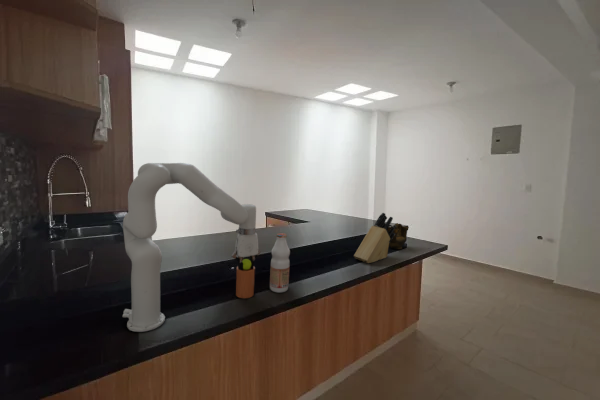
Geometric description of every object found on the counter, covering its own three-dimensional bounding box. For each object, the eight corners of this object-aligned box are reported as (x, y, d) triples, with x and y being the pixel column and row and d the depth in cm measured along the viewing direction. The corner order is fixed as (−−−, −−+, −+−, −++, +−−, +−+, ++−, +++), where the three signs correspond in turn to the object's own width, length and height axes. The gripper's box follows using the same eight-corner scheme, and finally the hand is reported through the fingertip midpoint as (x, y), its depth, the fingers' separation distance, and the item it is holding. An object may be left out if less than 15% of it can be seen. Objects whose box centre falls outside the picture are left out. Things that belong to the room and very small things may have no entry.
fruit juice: (268, 292, 141) (271, 236, 138) (270, 284, 151) (273, 231, 147) (287, 293, 141) (290, 237, 138) (288, 285, 151) (291, 232, 147)
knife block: (394, 255, 212) (399, 213, 208) (367, 265, 188) (371, 218, 184) (380, 251, 220) (384, 211, 216) (352, 260, 196) (356, 215, 192)
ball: (239, 271, 134) (239, 260, 133) (242, 267, 139) (242, 257, 138) (249, 272, 134) (250, 261, 133) (252, 268, 139) (252, 257, 138)
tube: (233, 297, 134) (234, 270, 132) (238, 289, 142) (239, 264, 141) (251, 299, 134) (252, 271, 132) (255, 291, 142) (256, 265, 140)
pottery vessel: (393, 251, 221) (396, 226, 218) (380, 248, 228) (383, 223, 226) (409, 246, 237) (412, 223, 235) (397, 243, 245) (399, 220, 243)
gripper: (233, 235, 126) (232, 275, 128) (267, 231, 136) (265, 268, 138) (226, 231, 132) (225, 269, 134) (259, 227, 142) (258, 263, 144)
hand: (245, 268), depth 136 cm, fingers closed on ball, 4 cm apart
